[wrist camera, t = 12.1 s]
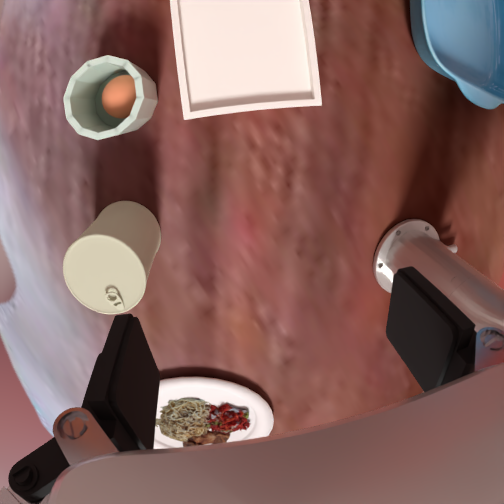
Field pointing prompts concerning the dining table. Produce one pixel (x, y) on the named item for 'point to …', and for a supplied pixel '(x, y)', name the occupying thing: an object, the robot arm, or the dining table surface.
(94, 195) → the dining table surface
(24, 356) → the dining table surface
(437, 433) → the robot arm
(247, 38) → the tray
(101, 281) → the can
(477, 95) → the casserole dish
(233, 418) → the plated food
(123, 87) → the ball
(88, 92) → the cup
